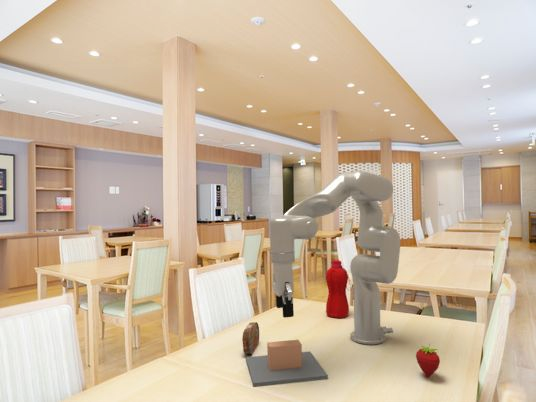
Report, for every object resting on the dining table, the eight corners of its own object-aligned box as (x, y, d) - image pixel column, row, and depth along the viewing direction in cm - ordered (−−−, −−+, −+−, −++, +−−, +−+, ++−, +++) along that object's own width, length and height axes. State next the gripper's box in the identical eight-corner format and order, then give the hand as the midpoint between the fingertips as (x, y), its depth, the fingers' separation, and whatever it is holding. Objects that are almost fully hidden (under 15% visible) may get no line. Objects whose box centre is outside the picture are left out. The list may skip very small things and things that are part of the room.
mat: (310, 354, 127) (310, 351, 127) (327, 378, 110) (327, 375, 110) (245, 360, 123) (245, 357, 123) (253, 386, 106) (253, 383, 106)
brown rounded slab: (250, 358, 125) (249, 333, 125) (241, 357, 126) (240, 332, 126) (260, 341, 140) (259, 319, 140) (252, 341, 141) (251, 318, 141)
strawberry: (428, 369, 114) (428, 337, 114) (445, 381, 107) (444, 346, 107) (411, 372, 113) (410, 339, 113) (427, 383, 106) (426, 348, 106)
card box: (267, 364, 118) (267, 342, 118) (298, 361, 119) (298, 339, 119) (270, 370, 114) (269, 347, 114) (301, 367, 115) (301, 344, 115)
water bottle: (347, 320, 162) (346, 262, 162) (323, 316, 168) (322, 261, 168) (354, 314, 170) (353, 259, 170) (332, 311, 176) (331, 258, 176)
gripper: (266, 254, 124) (267, 305, 125) (276, 262, 107) (278, 322, 108) (288, 252, 126) (289, 303, 126) (301, 261, 109) (303, 319, 109)
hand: (284, 312), depth 117 cm, fingers open, 9 cm apart
